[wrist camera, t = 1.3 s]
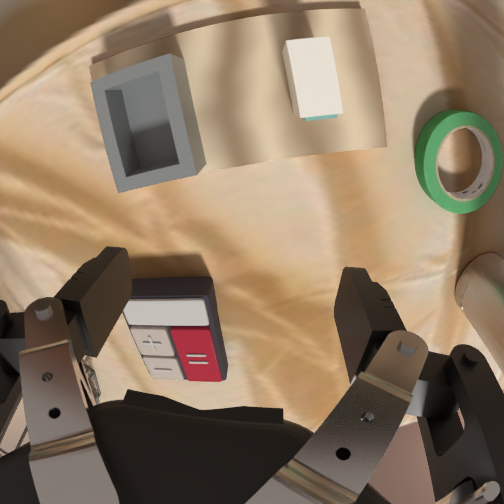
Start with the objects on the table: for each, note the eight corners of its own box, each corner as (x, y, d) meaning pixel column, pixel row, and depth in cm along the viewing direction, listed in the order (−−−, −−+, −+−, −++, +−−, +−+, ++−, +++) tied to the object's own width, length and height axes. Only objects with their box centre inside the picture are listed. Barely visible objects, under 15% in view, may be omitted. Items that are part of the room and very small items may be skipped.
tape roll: (421, 216, 32) (431, 225, 29) (403, 118, 27) (414, 121, 25) (493, 193, 30) (505, 201, 27) (482, 103, 25) (496, 105, 23)
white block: (317, 48, 24) (329, 36, 18) (328, 113, 26) (343, 117, 21) (281, 52, 24) (285, 40, 19) (294, 117, 27) (301, 122, 21)
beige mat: (362, 11, 22) (364, 8, 21) (383, 145, 28) (387, 147, 27) (93, 66, 25) (89, 66, 24) (123, 189, 31) (119, 192, 31)
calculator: (149, 382, 41) (112, 299, 33) (157, 359, 44) (125, 278, 37) (226, 385, 40) (206, 298, 32) (229, 361, 44) (212, 275, 36)
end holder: (184, 59, 24) (170, 53, 20) (206, 163, 29) (196, 175, 25) (113, 82, 25) (90, 82, 21) (136, 179, 30) (118, 193, 26)
